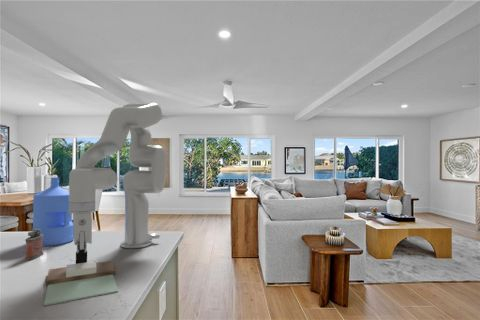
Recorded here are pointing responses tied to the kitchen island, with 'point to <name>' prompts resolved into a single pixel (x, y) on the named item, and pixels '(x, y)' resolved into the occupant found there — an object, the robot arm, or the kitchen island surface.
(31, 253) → the lighter
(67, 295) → the mat
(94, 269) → the tile
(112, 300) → the kitchen island surface
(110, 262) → the riser
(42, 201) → the water jug
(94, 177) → the robot arm
